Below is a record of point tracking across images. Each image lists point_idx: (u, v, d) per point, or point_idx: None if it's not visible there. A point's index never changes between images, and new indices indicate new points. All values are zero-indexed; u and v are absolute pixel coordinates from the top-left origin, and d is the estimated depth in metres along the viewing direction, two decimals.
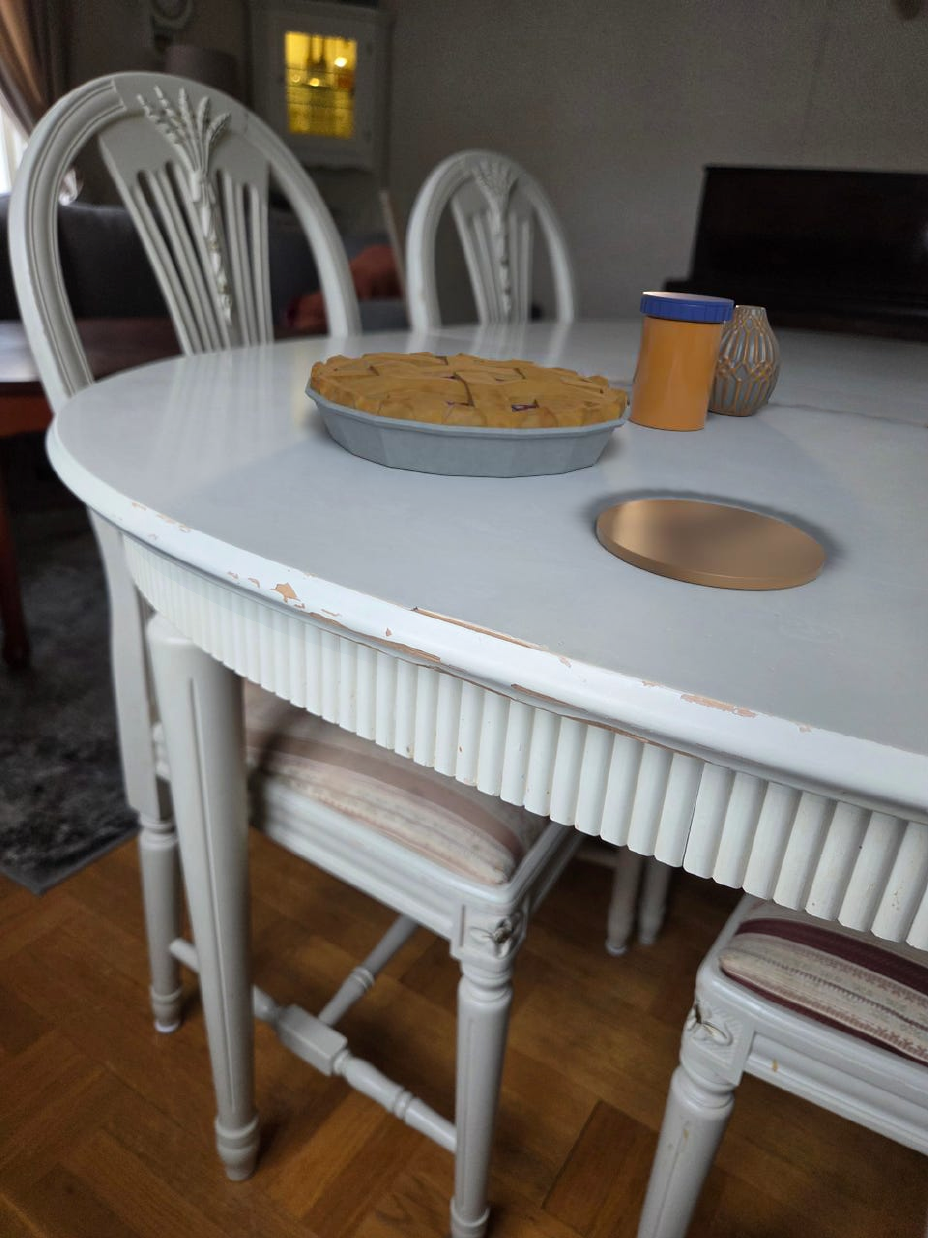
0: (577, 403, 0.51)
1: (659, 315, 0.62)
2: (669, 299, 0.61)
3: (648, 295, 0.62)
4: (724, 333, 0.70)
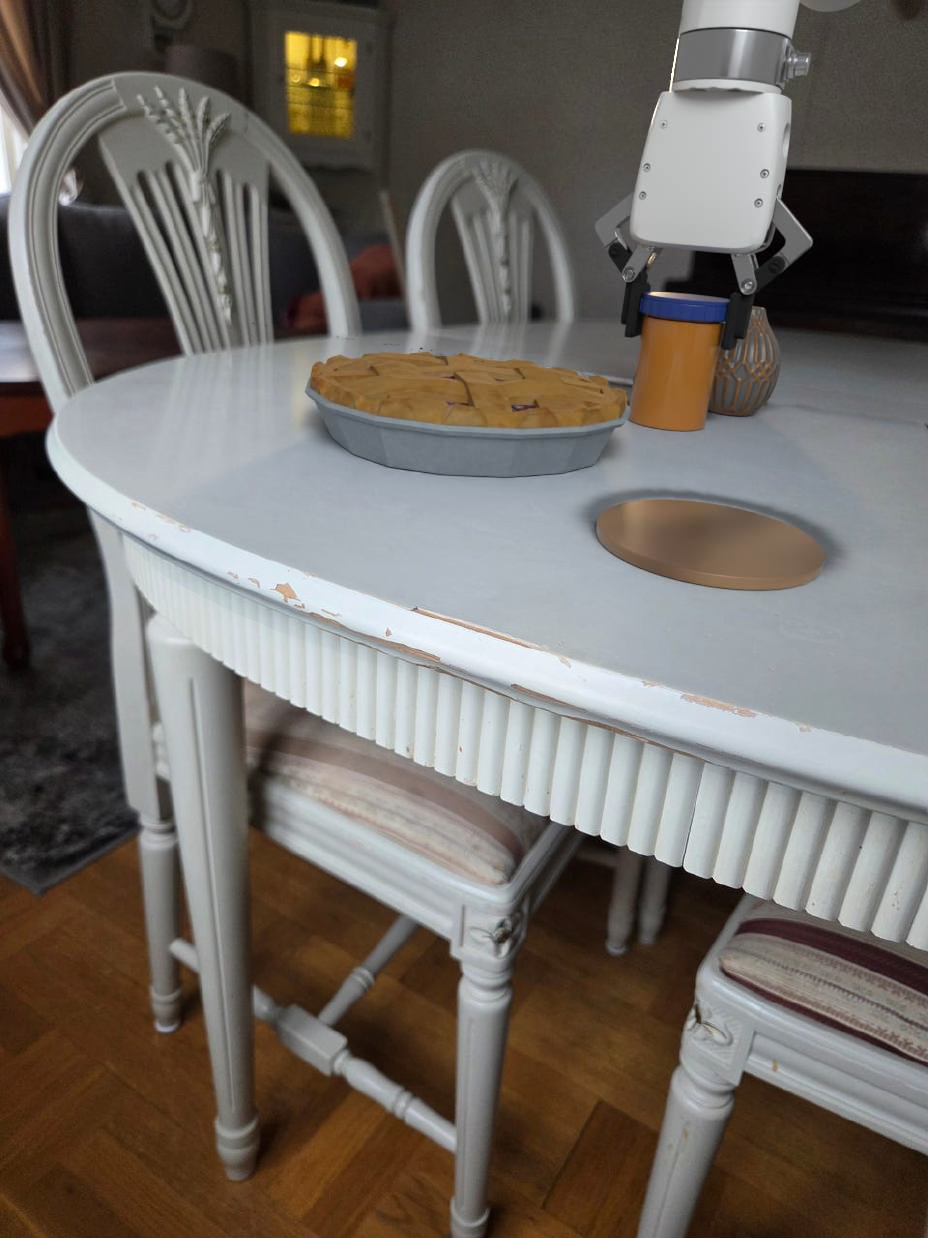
0: (577, 403, 0.51)
1: (659, 315, 0.62)
2: (669, 299, 0.61)
3: (648, 295, 0.62)
4: None
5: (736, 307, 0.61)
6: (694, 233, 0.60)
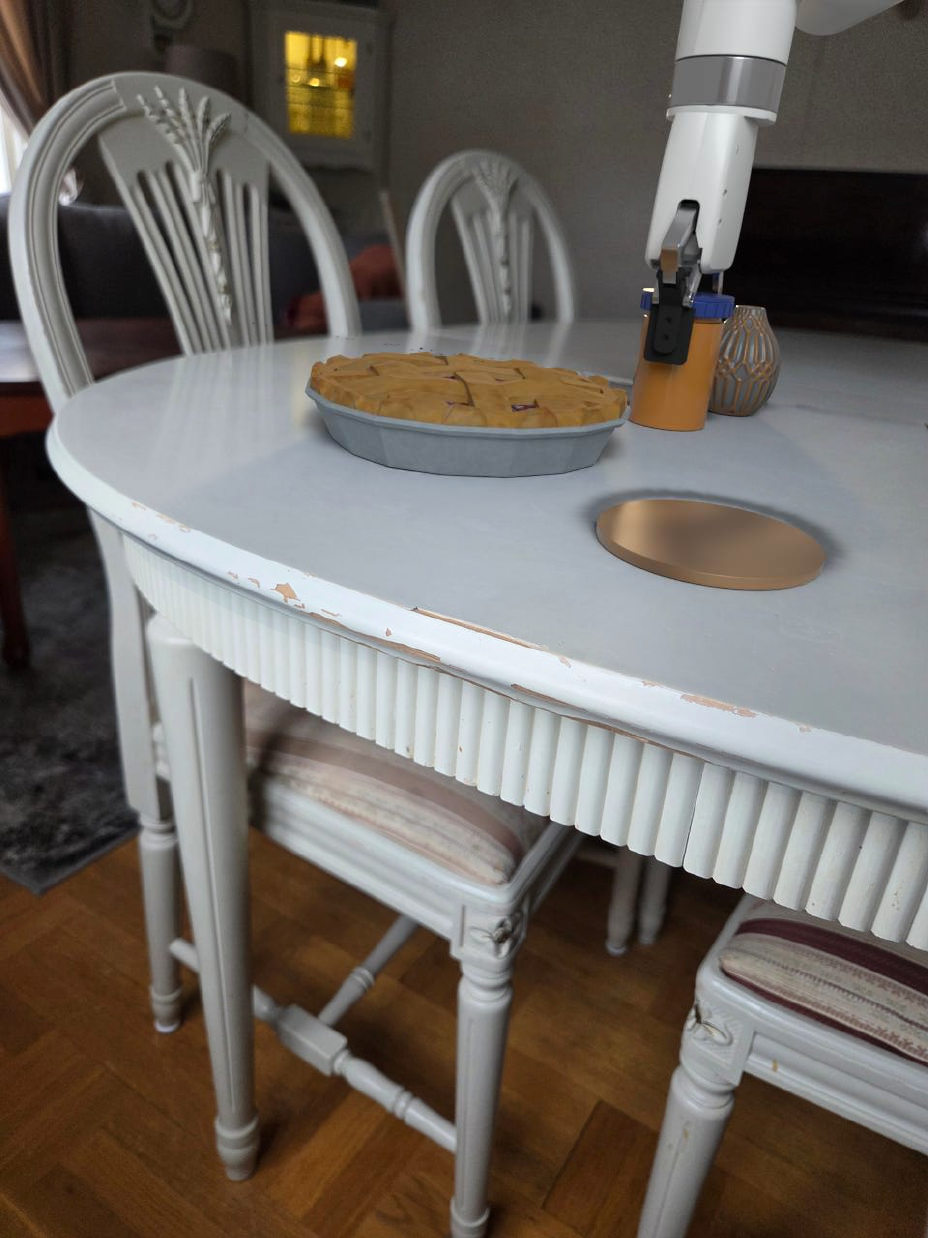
0: (577, 403, 0.51)
1: (724, 317, 0.62)
2: (731, 300, 0.62)
3: (712, 299, 0.60)
4: (724, 333, 0.70)
5: None
6: (725, 258, 0.61)
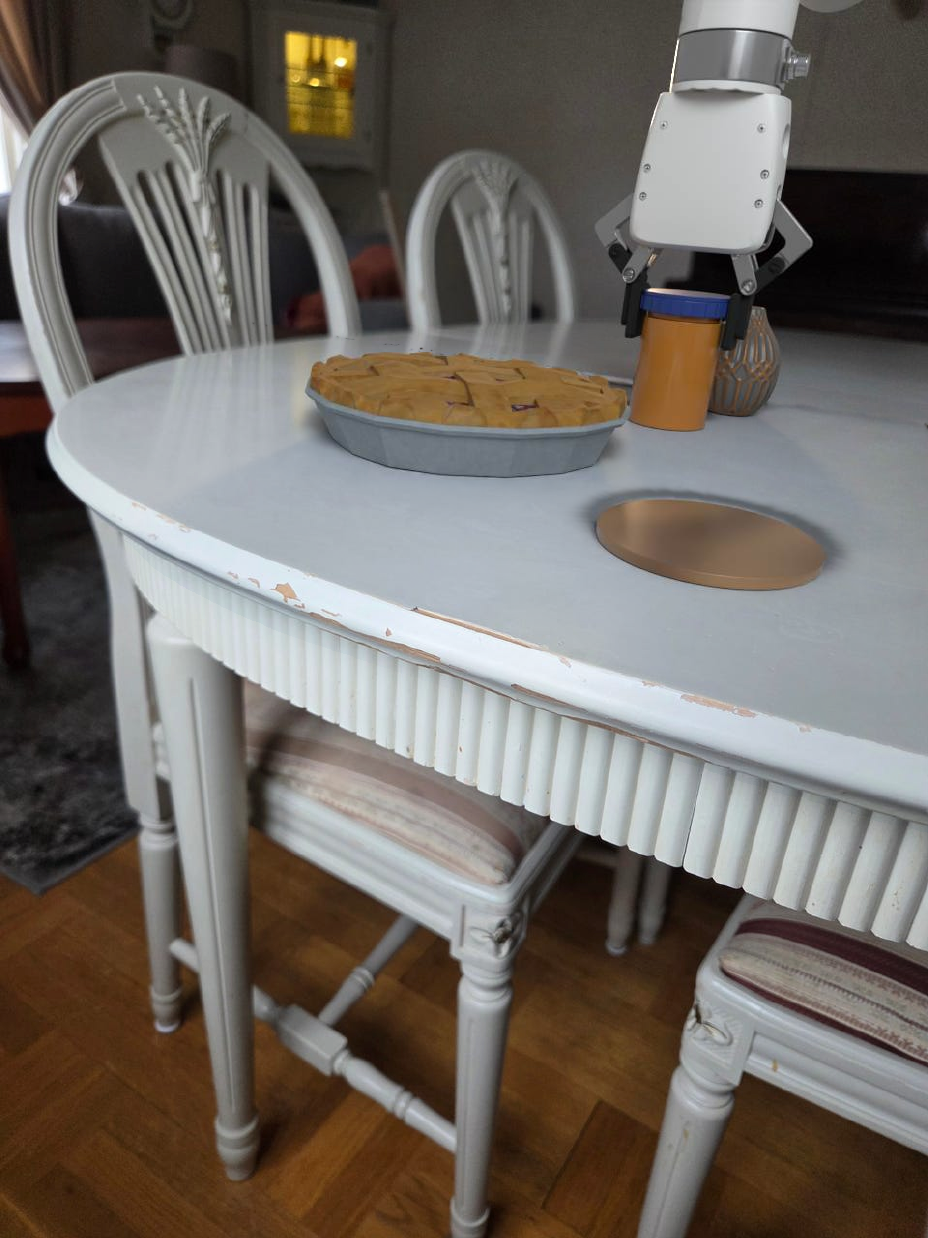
0: (577, 403, 0.51)
1: (724, 317, 0.62)
2: None
3: (712, 299, 0.60)
4: None
5: (736, 308, 0.61)
6: (694, 234, 0.60)
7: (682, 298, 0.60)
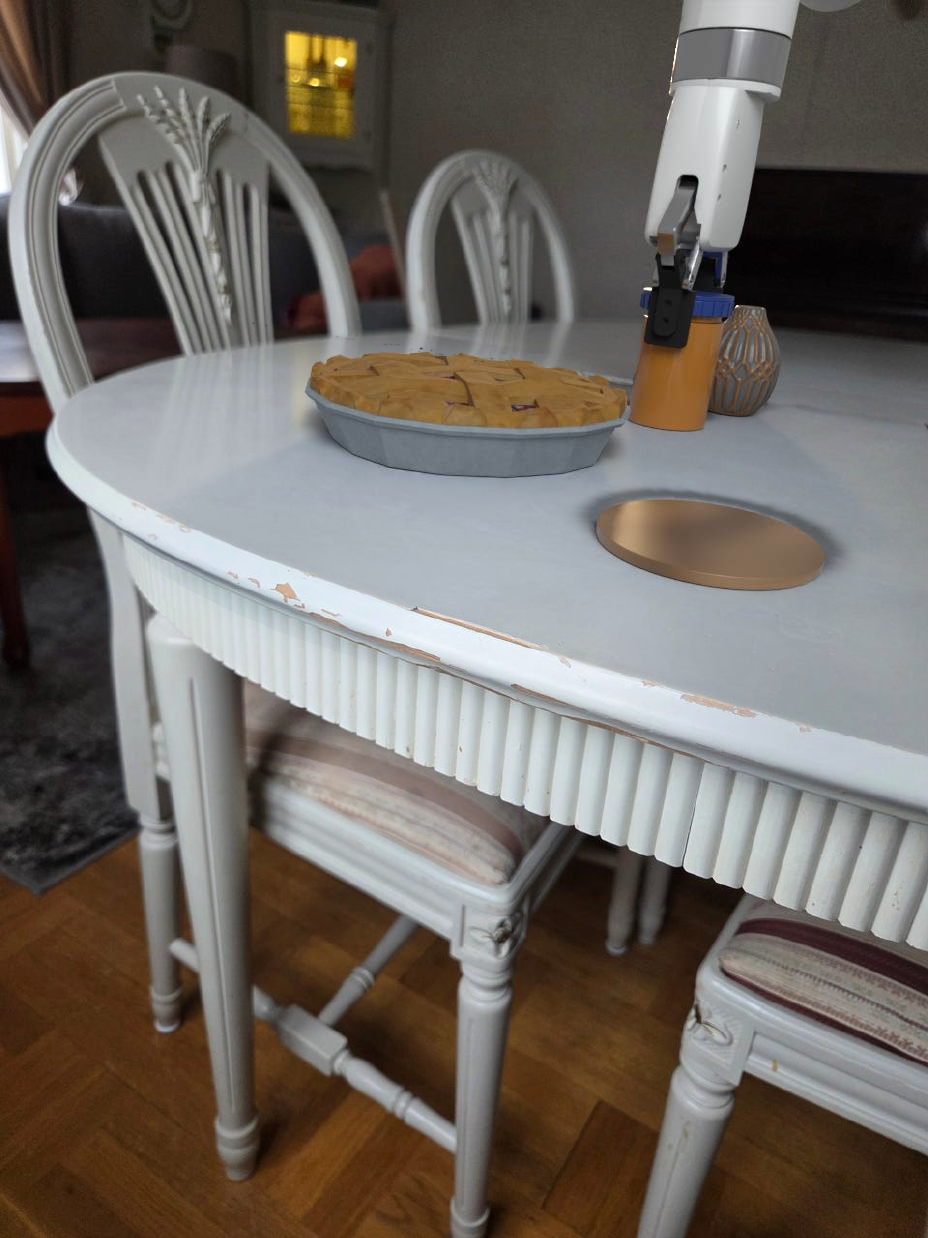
0: (577, 403, 0.51)
1: None
2: None
3: None
4: (724, 333, 0.70)
5: None
6: (728, 236, 0.61)
7: (733, 299, 0.62)
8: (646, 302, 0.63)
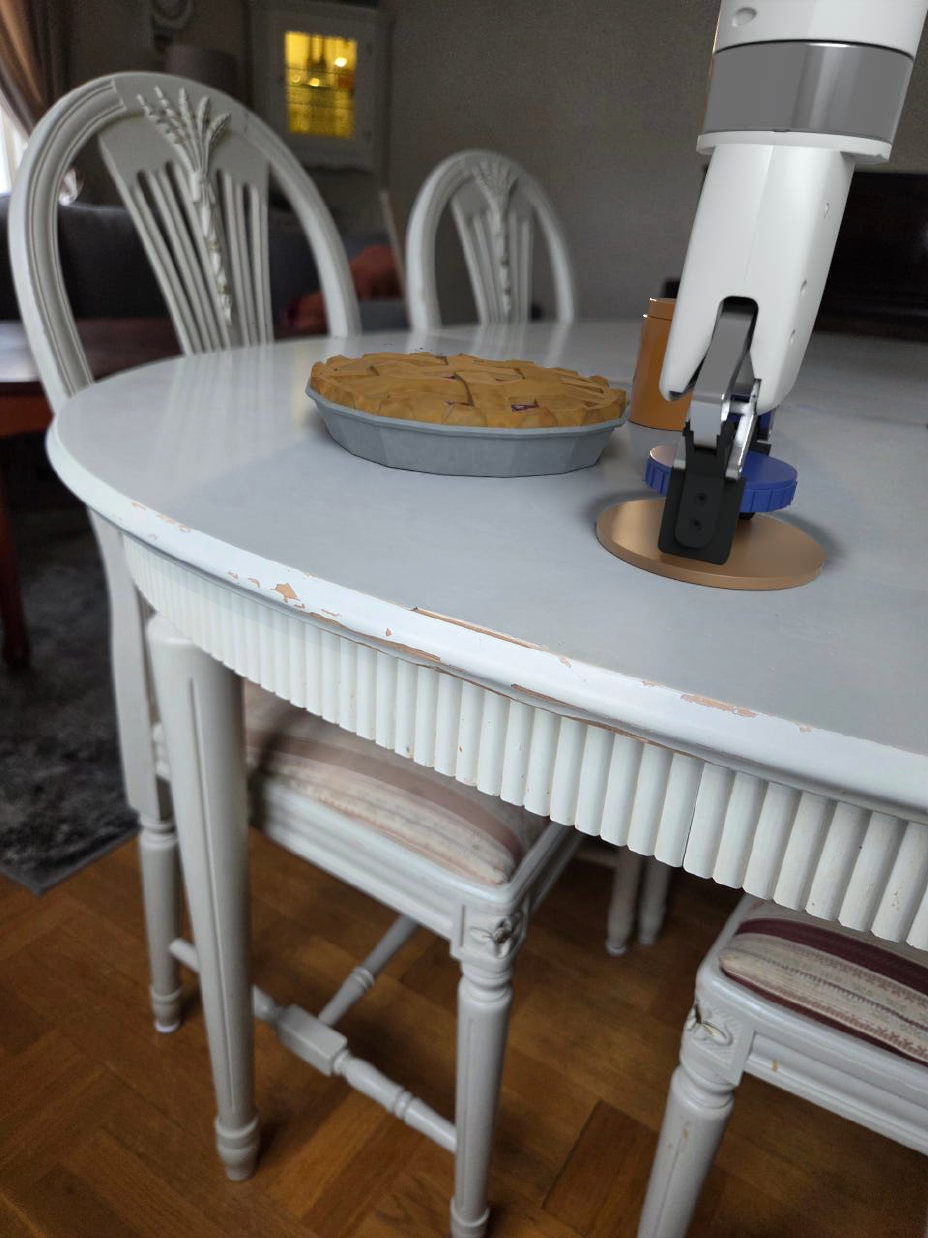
0: (577, 403, 0.51)
1: None
2: (747, 452, 0.42)
3: (782, 462, 0.40)
4: None
5: None
6: (791, 381, 0.37)
7: (796, 477, 0.39)
8: (657, 482, 0.39)
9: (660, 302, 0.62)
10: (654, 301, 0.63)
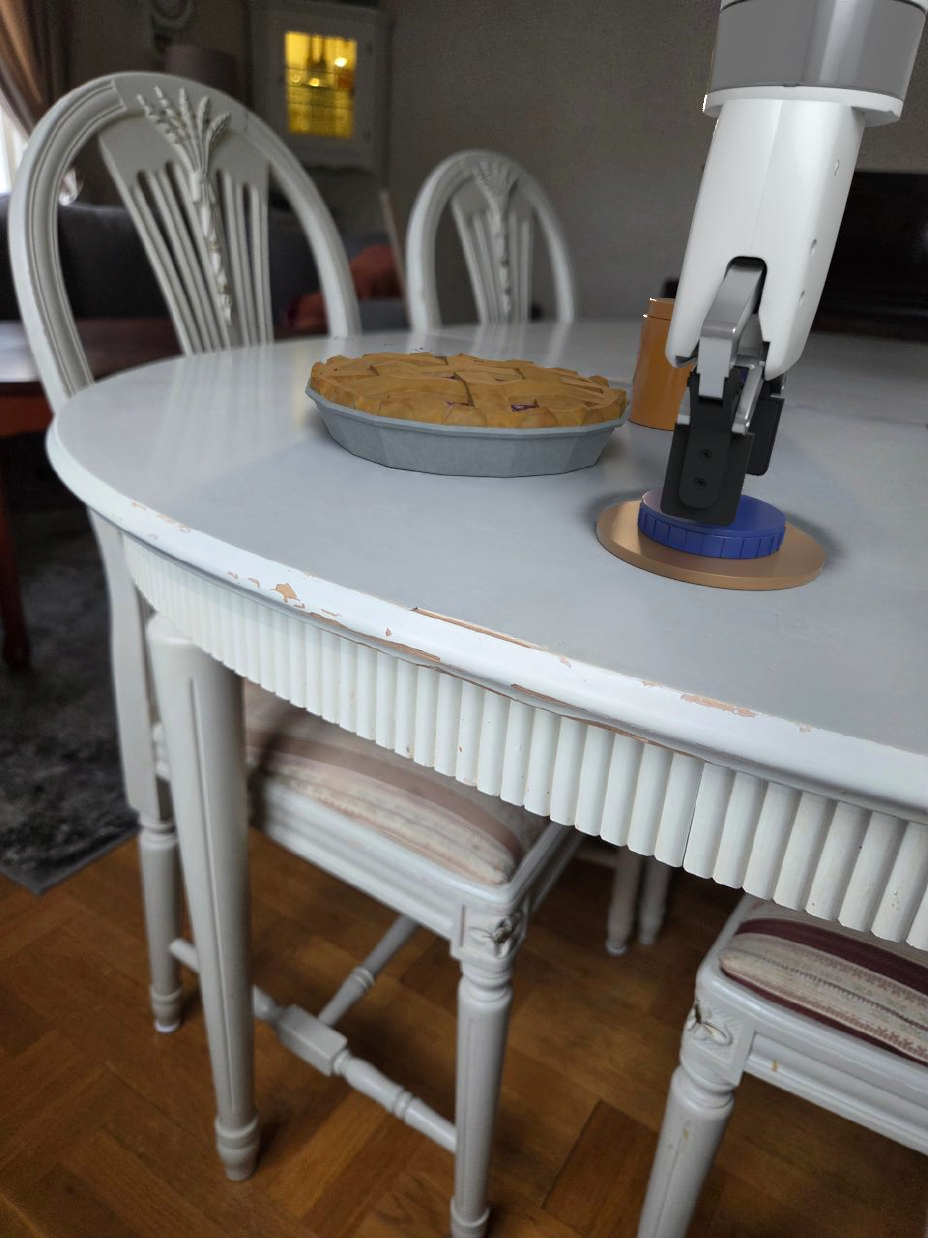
0: (577, 403, 0.51)
1: None
2: None
3: None
4: None
5: None
6: (799, 348, 0.36)
7: None
8: (649, 527, 0.40)
9: (660, 302, 0.62)
10: (654, 301, 0.63)
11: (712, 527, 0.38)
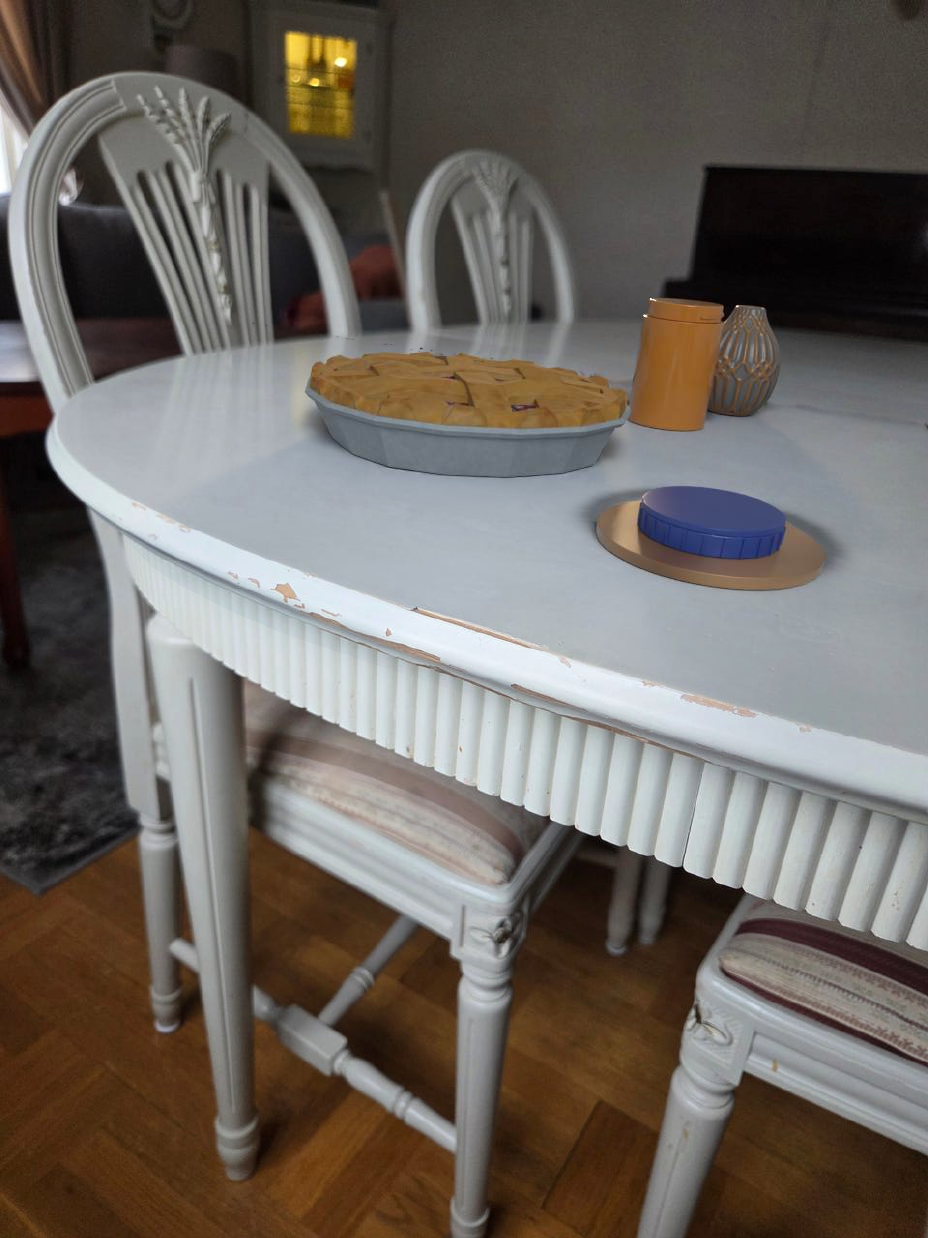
0: (577, 403, 0.51)
1: None
2: None
3: None
4: (724, 333, 0.70)
5: None
6: None
7: None
8: (649, 527, 0.40)
9: (660, 302, 0.62)
10: (654, 301, 0.63)
11: (712, 527, 0.38)
